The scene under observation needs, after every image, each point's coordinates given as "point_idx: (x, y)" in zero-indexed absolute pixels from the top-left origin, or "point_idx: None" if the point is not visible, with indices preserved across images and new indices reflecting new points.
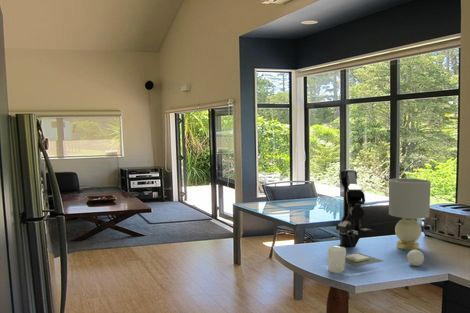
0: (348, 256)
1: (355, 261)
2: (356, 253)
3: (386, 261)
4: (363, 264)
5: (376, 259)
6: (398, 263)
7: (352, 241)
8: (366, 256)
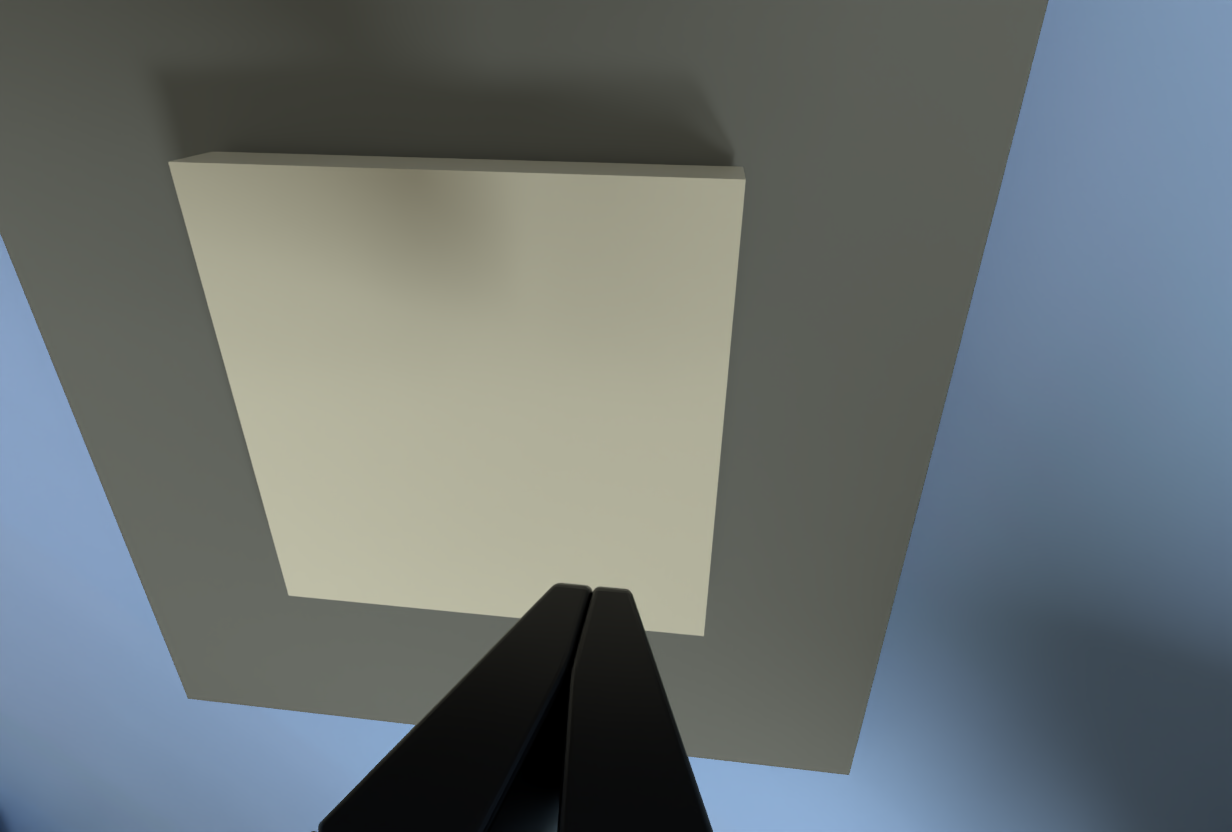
0: (607, 217)
1: None
2: (860, 716)
3: (236, 727)
4: (3, 150)
5: (309, 671)
6: (93, 760)
7: (470, 824)
8: None
